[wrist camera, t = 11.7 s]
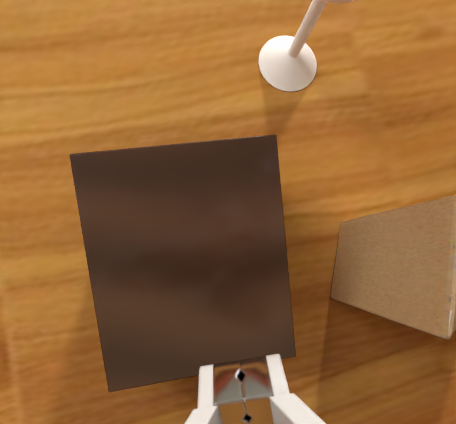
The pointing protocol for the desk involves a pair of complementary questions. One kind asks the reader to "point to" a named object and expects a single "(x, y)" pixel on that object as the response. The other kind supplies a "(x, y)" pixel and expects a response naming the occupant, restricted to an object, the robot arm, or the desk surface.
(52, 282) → the desk surface
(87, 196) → the chest lid
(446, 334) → the sandwich container
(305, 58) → the champagne flute
